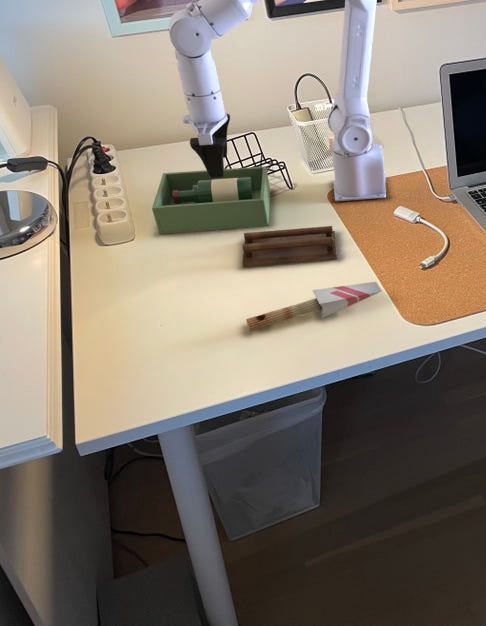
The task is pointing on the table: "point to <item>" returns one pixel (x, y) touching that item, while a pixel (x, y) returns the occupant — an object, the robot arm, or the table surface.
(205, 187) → the bottle
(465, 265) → the table surface
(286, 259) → the rack
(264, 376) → the table surface
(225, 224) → the basket
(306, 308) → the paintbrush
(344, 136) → the robot arm
